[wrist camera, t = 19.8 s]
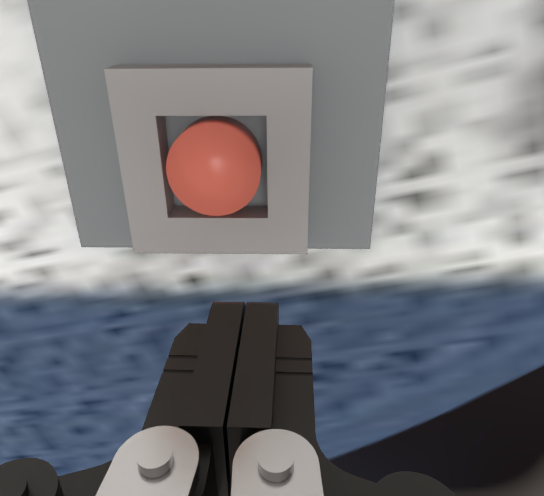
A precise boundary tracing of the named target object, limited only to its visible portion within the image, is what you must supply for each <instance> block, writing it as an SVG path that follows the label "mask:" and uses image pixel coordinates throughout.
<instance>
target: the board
mask: <svg viewBox="0 0 544 496" xmlns="http://www.w3.org/2000/svg"><path fill="white" fill-rule="evenodd" d="M27 2H28V6H29V11H30V15H31V20H32V24H33V29H34V33H35V38H36V42H37V47H38V52H39V56H40V61H41V65H42V70H43V74H44V79H45V83H46V88H47V93H48V97H49V102H50V106H51V111H52V115H53V120H54V124H55V129H56V134H57V138H58V143H59V147H60V152H61V156H62V161H63V165H64V170H65V174H66V179H67V184H68V188H69V193H70V197H71V202H72V206H73V211H74V215H75V220H76V225H77V229H78V234H79V238H80V243H81V247H133V250H134V253H212V254H307V248H315V249H370V243H371V233H372V223H373V213H374V202H375V192H376V182H377V172H378V162H379V152H380V142H381V132H382V121H383V111H384V101H385V91H386V81H387V71H388V61H389V51H390V40H391V30H392V20H393V10H394V0H27ZM207 116H226V117H230V118H233V119H235V120H237V121H239V122H241V123H242V124H244V125H245V126H246V127H247V128H248V129H249V130H250V131H251V132H252V133H253V134H254V136H255V137H256V139H257V141H258V143H259V145H260V148H261V152H262V170H261V176H260V182H259V186H258V189H257V191H256V193H255V195H254V197H253V198H252V199H251V201H250V202H249V203H248V204H247V205H246V206H244V207H243V208H242V209H240V210H238V211H236V212H234V213H231V214H228V215H223V216H210V215H204V214H201V213H198V212H196V211H194V210H192V209H190V208H188V207H187V206H186V205H184V204H183V203H182V202H181V201H180V200H179V199H178V198H177V196H176V195H175V194H174V192H173V191H172V189H171V187H170V185H169V182H168V179H167V174H166V160H167V156H168V153H169V150H170V148H171V146H172V145H173V143H174V142H175V141H176V139H177V138H178V137H179V136H180V134H181V133H182V132H183V131H184V130H185V129H186V128H187V127H188V126H189V125H190V124H191V123H193V122H194V121H196V120H198V119H200V118H203V117H207Z"/></svg>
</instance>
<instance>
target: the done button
mask: <svg viewBox="0 0 544 496" xmlns="http://www.w3.org/2000/svg"><path fill="white" fill-rule="evenodd" d="M261 170H262V152H261V148H260V145H259V143H258V141H257V139H256V137H255V136H254V134H253V133H252V132H251V131H250V130H249V129H248V128H247V127H246V126H245V125H244V124H242V123H241V122H239V121H237V120H235V119H233V118H230V117H226V116H207V117H203V118H200V119H198V120H196V121H194V122H193V123H191V124H190V125H189V126H188V127H187V128H186V129H185V130H184V131H183V132H182V133H181V134H180V136H179V137H178V138H177V139H176V141H175V142H174V143H173V145H172V146H171V148H170V150H169V153H168V156H167V160H166V174H167V179H168V182H169V185H170V187H171V189H172V191H173V192H174V194H175V195H176V196H177V198H178V199H179V200H180V201H181V202H182V203H183V204H184V205H186V206H187V207H188V208H190V209H192V210H194V211H196V212H198V213H201V214H204V215H210V216H223V215H228V214H231V213H234V212H236V211H238V210H240V209H242V208H243V207H244V206H246V205H247V204H248V203H249V202H250V201H251V199H252V198H253V197H254V195H255V193H256V191H257V189H258V186H259V182H260V176H261Z"/></svg>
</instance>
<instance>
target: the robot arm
mask: <svg viewBox="0 0 544 496" xmlns="http://www.w3.org/2000/svg"><path fill="white" fill-rule="evenodd" d="M0 496H456V495H455V494H454V493H453V492H452V491H450V490H449V489H448V488H446V486H444V485H443V484H442V483H440V482H439V481H437V480H435V479H433V478H431V477H429V476H427V475H424V474H420V473H417V472H408V471H405V472H396V473H393V474H390V475H387V476H386V477H384V478H382V479H381V480H380V481H379V482H378V483H374V482H371V481H368V480H365V479H362V478H359V477H356V476H353V475H351V474H349V473H346V472H344V471H342V470H341V469H339V468H337V467H336V466H335V465H334V464H332V463H331V462H330V461H329V460H328V459H327V458H326V457H325V455H324V454H323V453H322V451H321V449H320V447H319V445H318V443H317V440H316V433H315V414H314V393H313V372H312V351H311V340H310V338H309V337H308V335H307V334H306V332H305V331H304V329H303V328H302V326H301V325H279V306H278V303H258V302H247V304H246V305H245V302H213V303H212V306H211V309H210V313H209V317H208V320H207V324H194V323H189V324H188V325H187V326H186V327H185V328H184V329H183V330H182V331H181V332H180V333H179V334H178V335H177V336H176V337H175V339H174V342H173V344H172V347H171V350H170V353H169V358H167V361H166V364H165V367H164V372H163V373H162V375H161V378H160V381H159V384H158V386H157V389H156V392H155V395H154V398H153V400H152V403H151V406H150V409H149V412H148V414H147V417H146V420H145V423H144V426H143V428H142V431H140V432H139V433H137V434H135V435H133V436H132V437H131V438H129V439H128V440H127V441H126V442H125V443H124V444H123V445H122V446H121V447H120V448H119V450H118V451H117V453H116V455H115V456H114V459H113V460H111V461H109V462H107V463H105V464H103V465H100V466H96V467H93V468H89V469H85V470H82V471H78V472H74V473H70V474H66V475H62V476H57V473H56V471H55V469H54V468H53V466H52V465H50V464H49V463H48V462H46V461H44V460H41V459H38V458H21V459H16V460H13V461H10V462H6V463H4V464H2V465H0Z"/></svg>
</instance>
